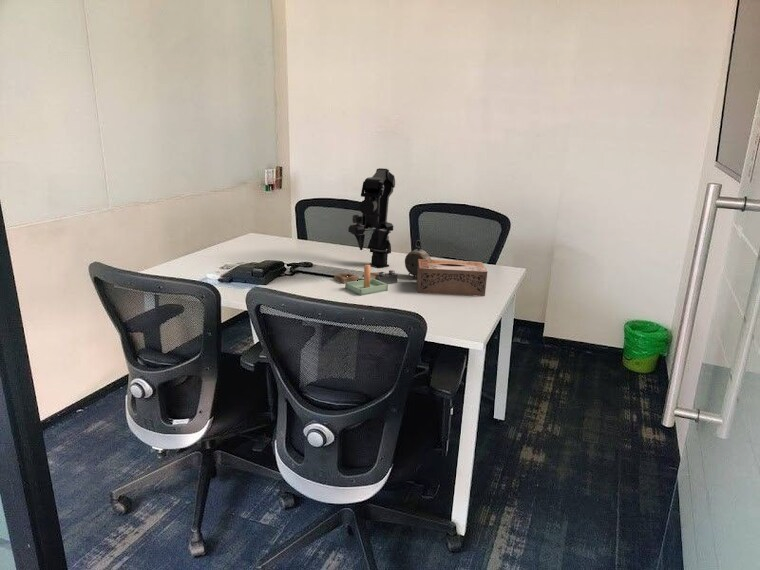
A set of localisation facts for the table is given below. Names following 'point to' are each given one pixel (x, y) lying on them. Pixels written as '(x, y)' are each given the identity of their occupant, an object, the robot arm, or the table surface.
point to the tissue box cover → (451, 277)
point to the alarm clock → (415, 260)
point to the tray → (360, 290)
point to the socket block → (345, 277)
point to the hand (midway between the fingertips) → (370, 248)
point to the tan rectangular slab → (373, 275)
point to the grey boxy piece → (387, 277)
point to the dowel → (367, 276)
